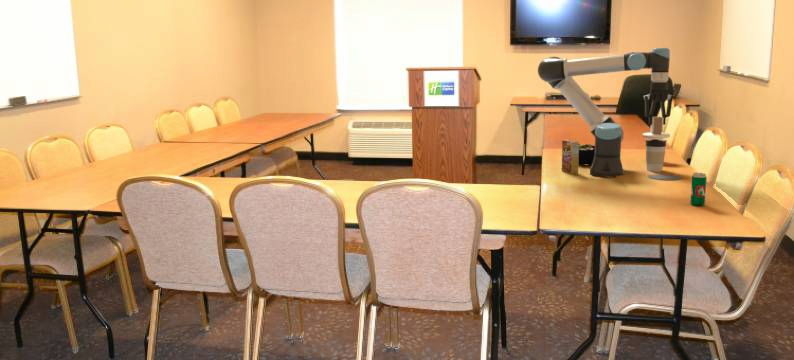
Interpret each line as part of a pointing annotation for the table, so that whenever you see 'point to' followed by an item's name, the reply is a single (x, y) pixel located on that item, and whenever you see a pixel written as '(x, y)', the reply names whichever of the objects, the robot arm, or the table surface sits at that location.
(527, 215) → the table surface
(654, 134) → the brown block on plate
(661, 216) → the table surface
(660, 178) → the mat
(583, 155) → the black container
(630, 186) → the table surface
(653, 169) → the coffee cup
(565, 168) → the candy box
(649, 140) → the plastic cup
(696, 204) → the soda can
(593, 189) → the table surface
